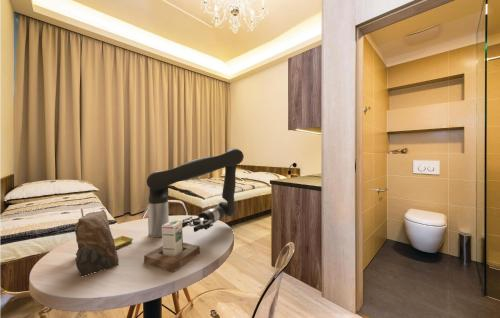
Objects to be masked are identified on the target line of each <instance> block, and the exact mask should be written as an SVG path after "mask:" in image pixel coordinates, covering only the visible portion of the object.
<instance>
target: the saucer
mask: <svg viewBox="0 0 500 318" xmlns="http://www.w3.org/2000/svg"><path fill="white" fill-rule="evenodd" d="M113 239H114V244H115V247H116V249H119V248H121V246H122V247H123V246H126V245H129V244H131V243H132V242H133V240H134V238H133V237H128V236H125V235H121V236H118V237H115V238H113Z"/></svg>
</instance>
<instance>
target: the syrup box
mask: <svg viewBox="0 0 500 318" xmlns="http://www.w3.org/2000/svg"><path fill="white" fill-rule="evenodd" d="M183 237H184V235H183V228H182V220H169V222H168V223H166V224H164V225H162V237H161V240H162V246H163V255H166V256H169V257H174V256H176V255H178V254H179V253H181V252H182V251H183V243H184V239H183Z"/></svg>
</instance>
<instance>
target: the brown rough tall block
mask: <svg viewBox="0 0 500 318" xmlns="http://www.w3.org/2000/svg"><path fill="white" fill-rule="evenodd" d="M107 215H108V214H107V212H106V210H105V209H102V210H100V211H95V212H94V211H93V212H88V213H86V214H85V215H84V216H83V217H82V216H81V217H80V218H78V219H77V220H78V221H79V224H78V226H77V230H76V234H75V238H76V244H77V248H78V249H77V251H76V253H75V255H76V258H75V260H74V261H75V266H76V268H77V270H78V271H79V273H80V277H81V276H84V277H86V276H85V275H87V276H89V275H88V274H90V275H92V274H91V273H93V274H95V273H94V272H97V273H99V272H101V271H100V270H102V271H104V269H105V270H109V269H112V268H114V267H117V266H119V256H118V254H117V248H116V247H115V244H114V239H115V238H114V237H113V235H112V231H111V228H110V223H109V218H108V216H107ZM78 221H77V222H78ZM111 267H112V268H111ZM98 271H99V272H98Z"/></svg>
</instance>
